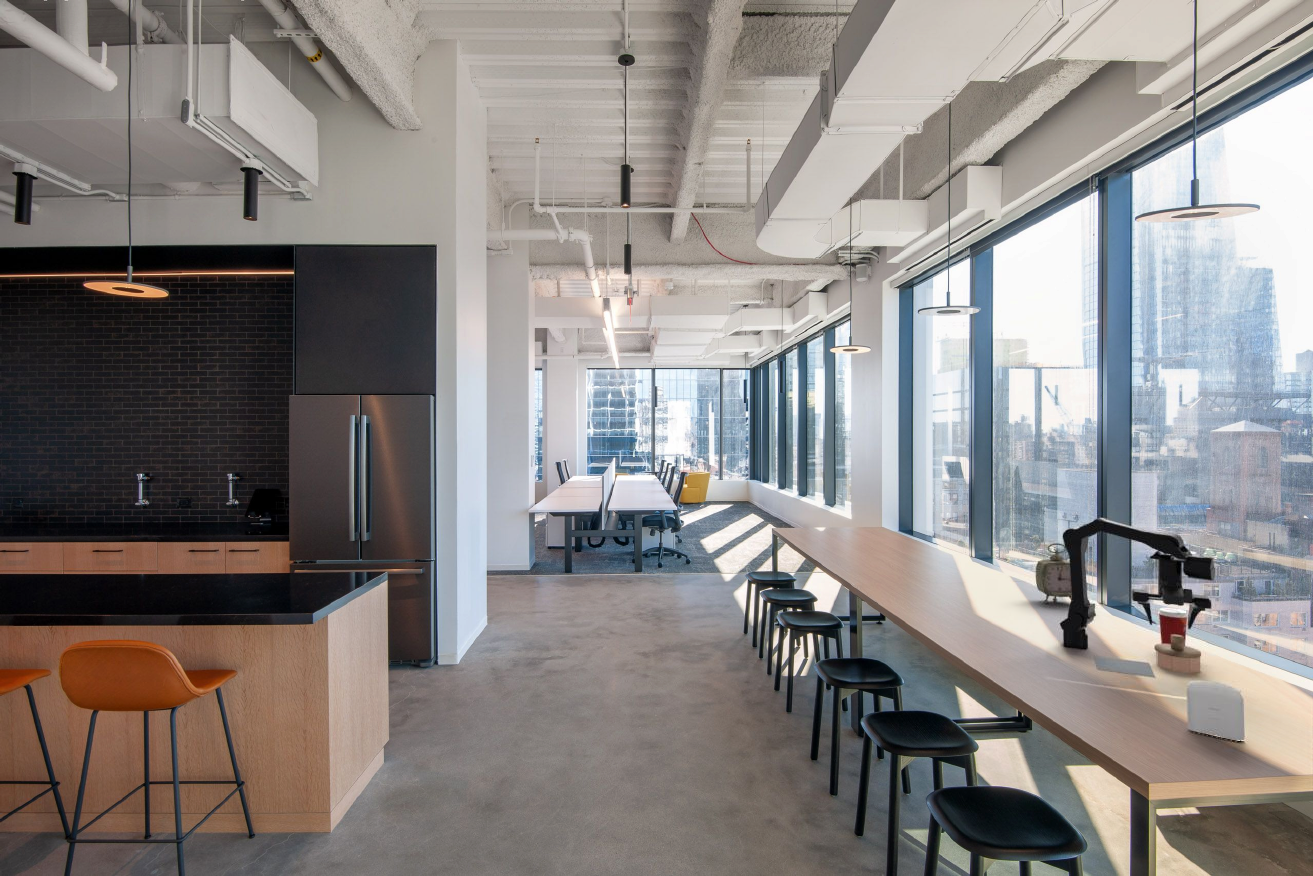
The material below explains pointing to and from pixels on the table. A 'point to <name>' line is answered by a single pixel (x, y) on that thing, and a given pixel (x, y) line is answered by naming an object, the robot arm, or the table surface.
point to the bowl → (1178, 663)
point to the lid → (1177, 648)
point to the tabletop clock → (1054, 576)
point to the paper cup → (1172, 623)
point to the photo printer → (1215, 709)
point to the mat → (1124, 666)
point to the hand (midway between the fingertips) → (1169, 627)
